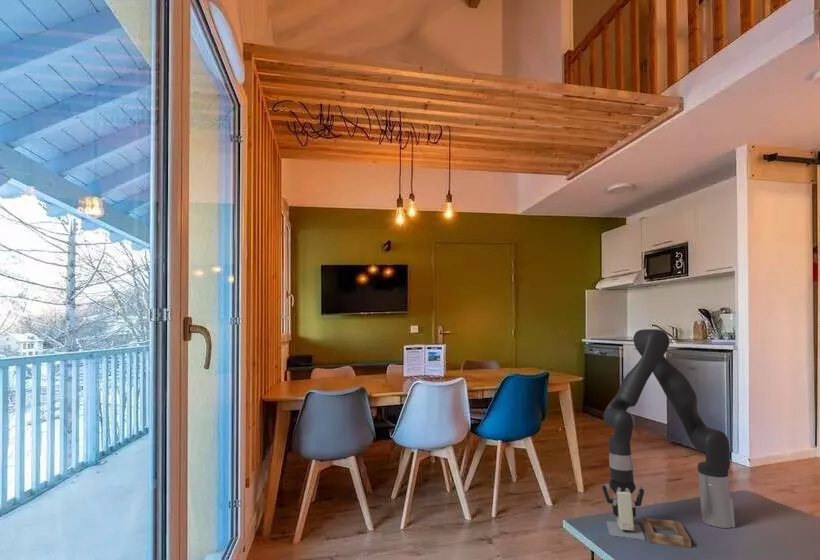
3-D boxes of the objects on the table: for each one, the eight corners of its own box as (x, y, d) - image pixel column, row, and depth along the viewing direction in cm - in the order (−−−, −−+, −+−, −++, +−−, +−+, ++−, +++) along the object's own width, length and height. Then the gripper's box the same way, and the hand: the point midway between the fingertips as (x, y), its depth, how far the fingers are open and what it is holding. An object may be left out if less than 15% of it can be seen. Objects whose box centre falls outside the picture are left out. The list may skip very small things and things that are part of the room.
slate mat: (639, 526, 158) (639, 524, 158) (645, 540, 147) (645, 538, 147) (606, 522, 161) (606, 521, 161) (609, 535, 151) (609, 534, 151)
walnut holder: (679, 528, 155) (679, 521, 155) (691, 547, 142) (690, 539, 142) (641, 524, 159) (641, 517, 159) (649, 542, 146) (649, 534, 146)
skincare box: (634, 531, 151) (632, 494, 152) (620, 530, 152) (618, 493, 153) (629, 523, 157) (627, 487, 158) (615, 522, 158) (613, 486, 159)
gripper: (641, 464, 158) (645, 514, 156) (598, 461, 162) (601, 510, 161) (645, 471, 151) (649, 523, 149) (600, 467, 155) (603, 518, 154)
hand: (624, 516), depth 155 cm, fingers closed on skincare box, 4 cm apart
